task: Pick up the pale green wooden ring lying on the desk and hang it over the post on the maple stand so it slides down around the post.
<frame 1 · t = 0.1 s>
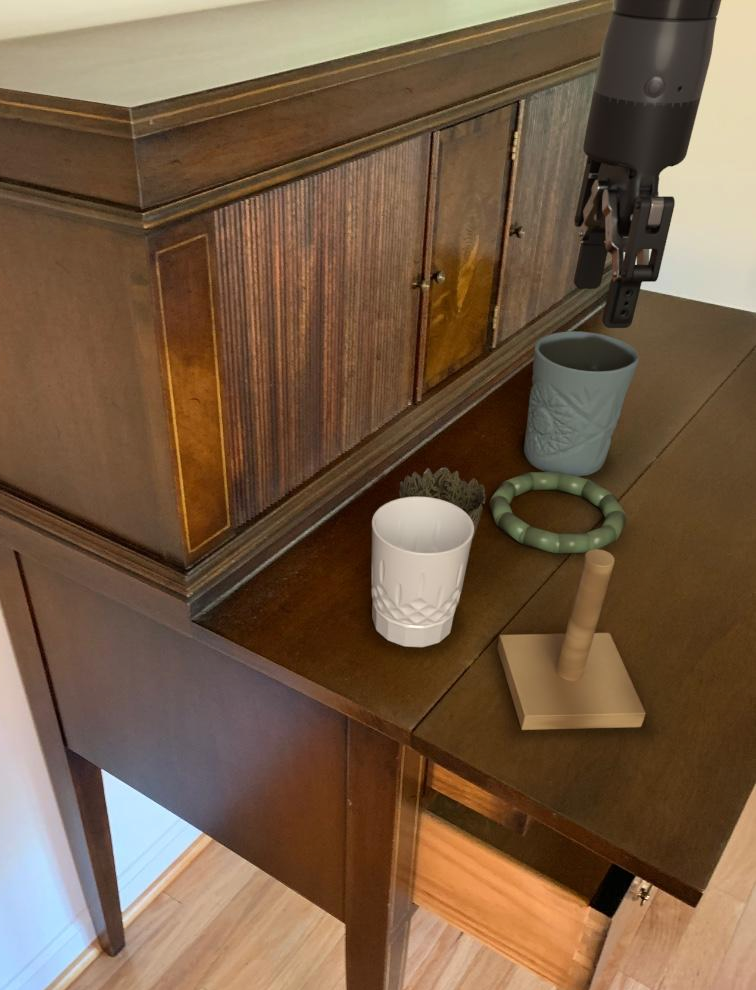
hand: (600, 305, 77), 21 cm above the table, tool pointing down, fingers open, 8 cm apart
white cup: (412, 623, 77), on the table
ring: (557, 510, 89), point 1 cm above the table
post: (565, 686, 72), on the table
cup: (433, 565, 84), on the table
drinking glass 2: (563, 456, 99), on the table
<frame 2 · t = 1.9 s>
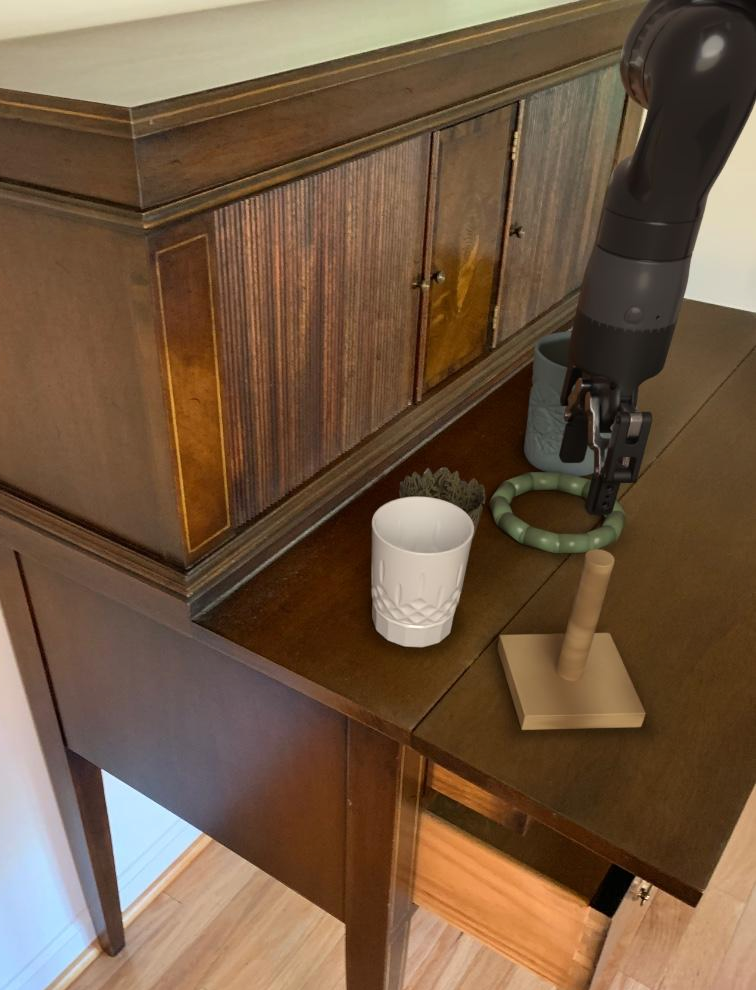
hand: (583, 485, 81), 7 cm above the table, tool pointing down, fingers open, 8 cm apart
nothing on the table moved.
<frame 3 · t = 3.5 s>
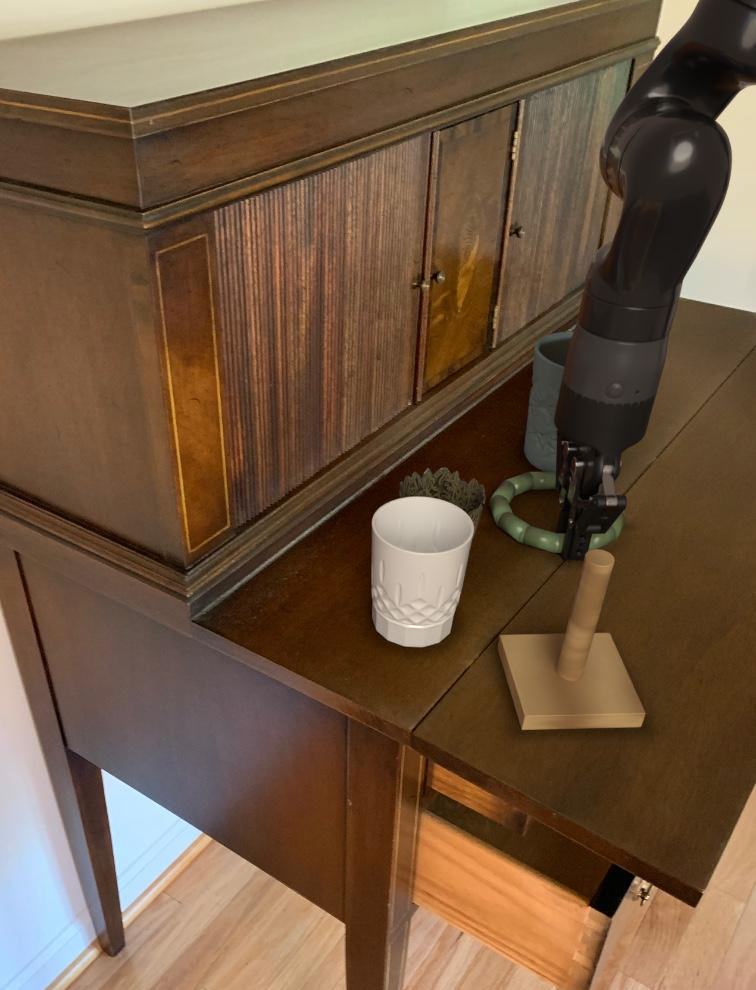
hand: (569, 549, 85), 0 cm above the table, tool pointing down, fingers closed on ring, 2 cm apart
ring: (556, 510, 89), point 1 cm above the table, touching gripper
everything else where it was.
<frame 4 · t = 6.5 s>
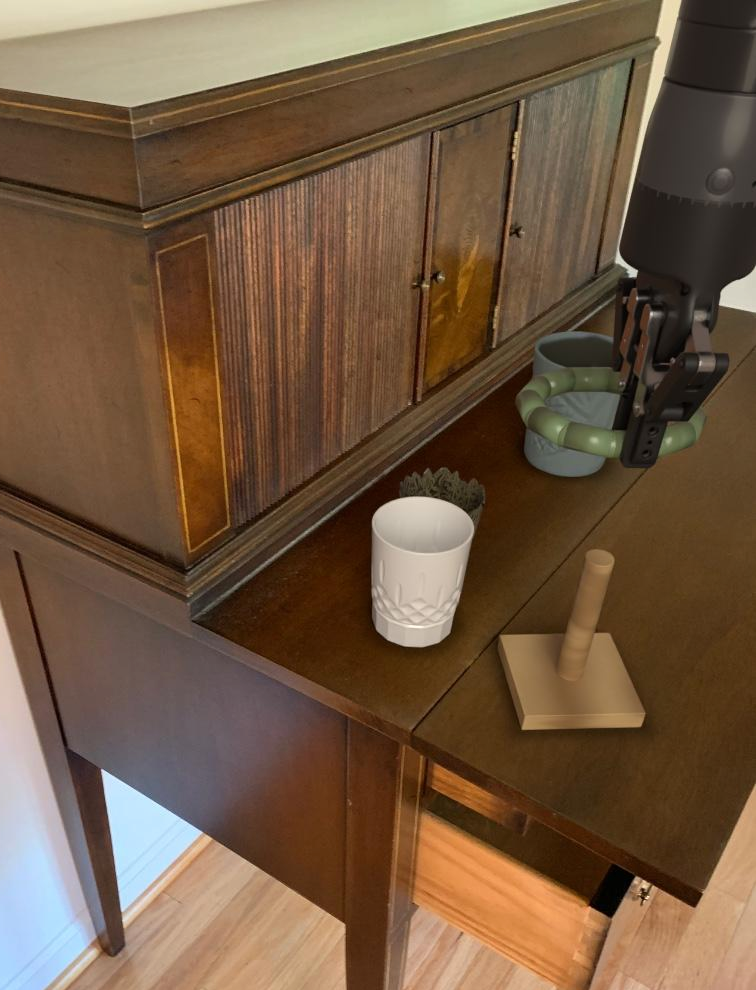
hand: (630, 455, 61), 20 cm above the table, tool pointing down, fingers closed on ring
ring: (609, 409, 64), point 20 cm above the table, touching gripper
everything else where it was.
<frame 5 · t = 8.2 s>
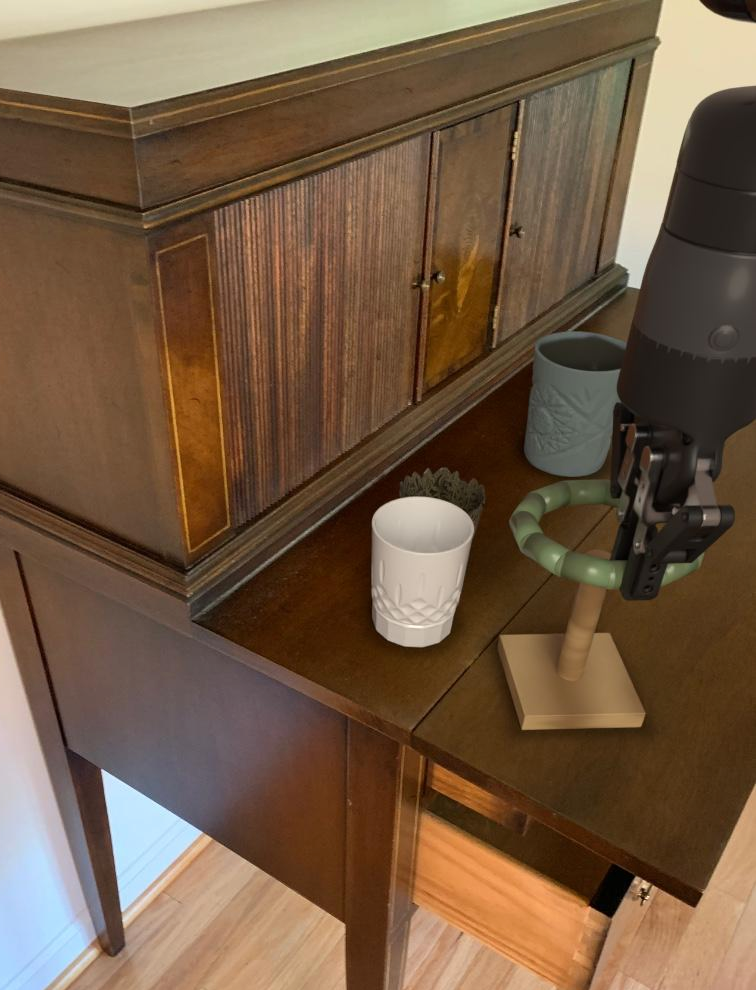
hand: (630, 584, 58), 14 cm above the table, tool pointing down, fingers closed on ring
ring: (606, 530, 62), point 15 cm above the table, touching gripper
everything else where it was.
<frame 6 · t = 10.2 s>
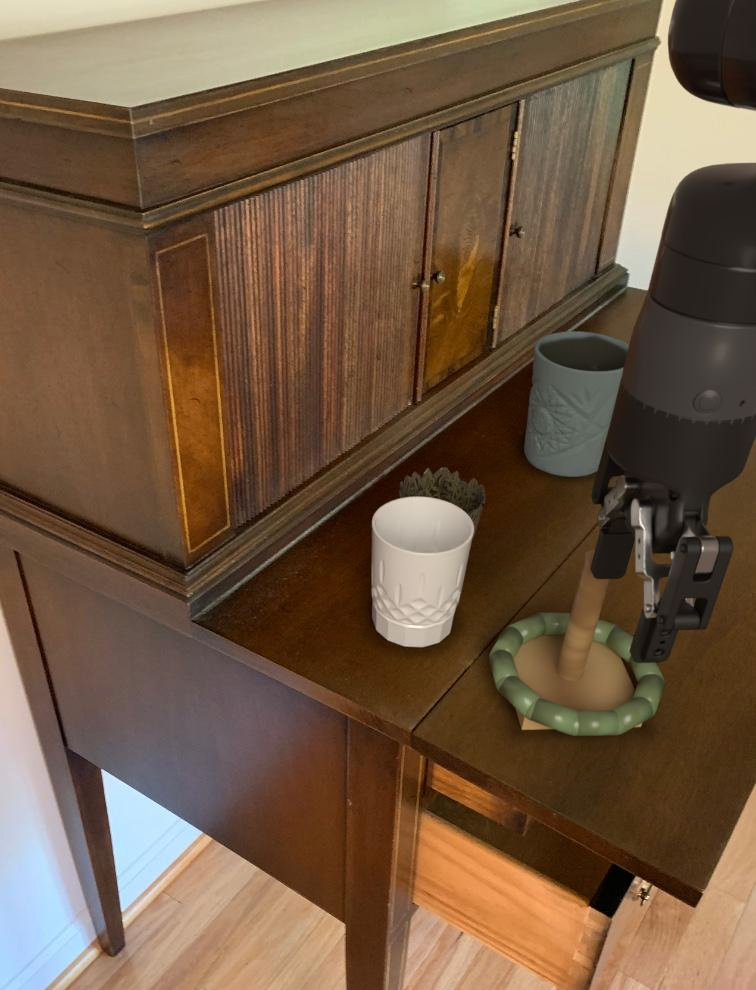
hand: (625, 614, 59), 12 cm above the table, tool pointing down, fingers open, 8 cm apart
ring: (575, 670, 69), point 2 cm above the table, touching post
everything else where it was.
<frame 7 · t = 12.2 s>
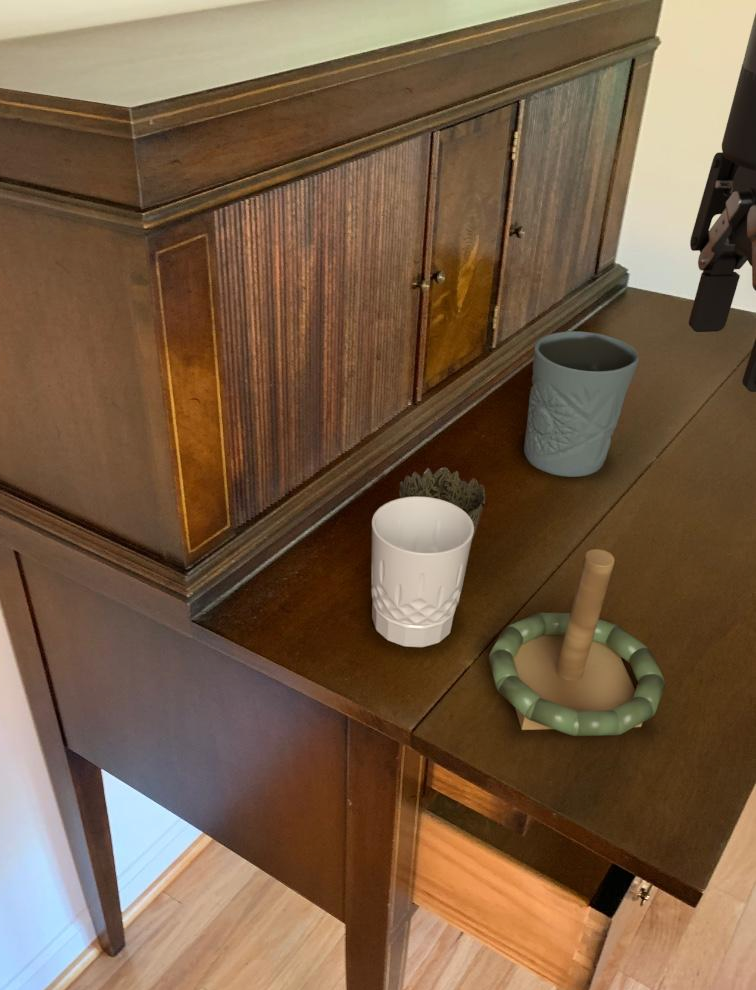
hand: (731, 357, 58), 26 cm above the table, tool pointing down, fingers open, 8 cm apart
nothing on the table moved.
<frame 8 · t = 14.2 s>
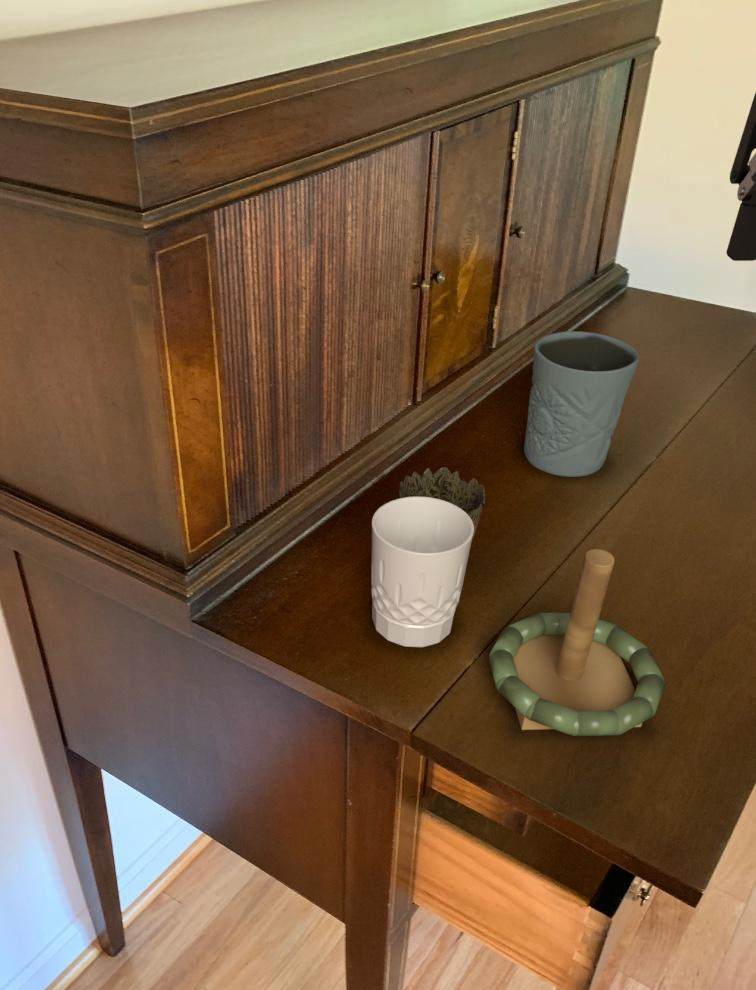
nothing on the table moved.
at the end: ring 0.7 cm from the post (horizontally); ring point 2.4 cm above the table; the gripper is holding nothing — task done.
